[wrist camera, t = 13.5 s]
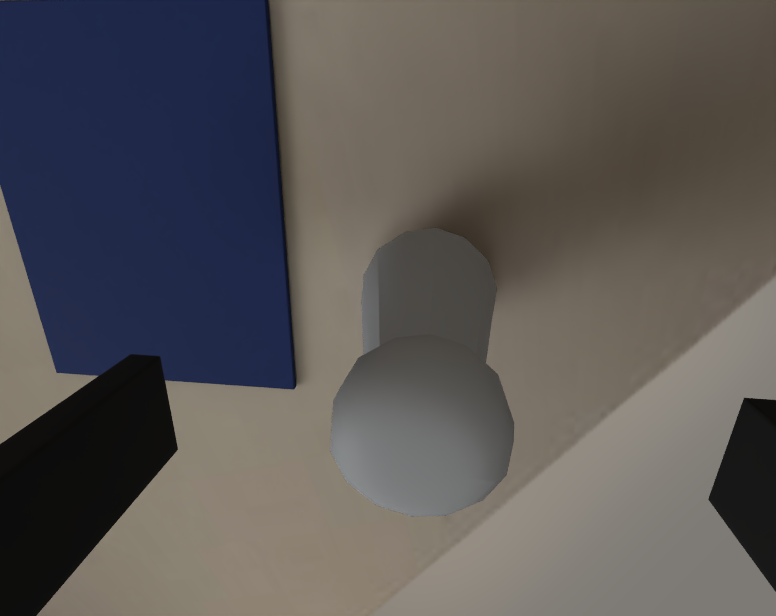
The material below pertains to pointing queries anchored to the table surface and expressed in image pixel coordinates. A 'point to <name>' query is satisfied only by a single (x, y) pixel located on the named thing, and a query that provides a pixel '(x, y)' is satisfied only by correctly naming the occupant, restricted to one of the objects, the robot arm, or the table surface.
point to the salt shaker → (424, 381)
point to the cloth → (148, 184)
